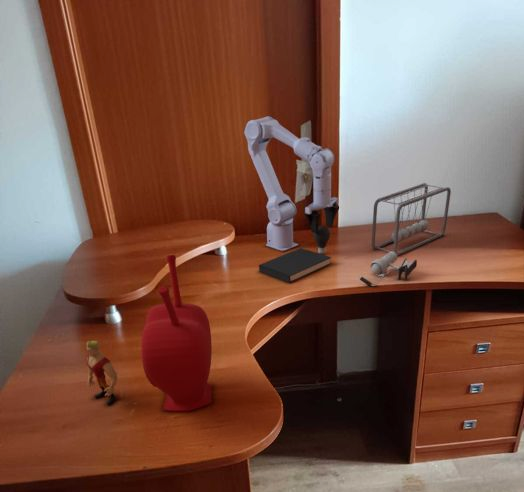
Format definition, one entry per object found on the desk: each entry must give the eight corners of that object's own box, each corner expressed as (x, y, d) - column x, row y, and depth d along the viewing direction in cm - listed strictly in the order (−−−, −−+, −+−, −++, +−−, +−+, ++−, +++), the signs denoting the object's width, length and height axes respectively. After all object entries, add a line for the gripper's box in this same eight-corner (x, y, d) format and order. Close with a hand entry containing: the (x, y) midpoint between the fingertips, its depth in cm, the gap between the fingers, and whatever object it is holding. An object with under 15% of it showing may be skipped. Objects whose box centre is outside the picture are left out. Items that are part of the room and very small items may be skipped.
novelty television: (163, 372, 120) (140, 252, 104) (217, 367, 120) (202, 247, 105) (153, 430, 102) (123, 295, 87) (217, 424, 103) (199, 289, 87)
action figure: (86, 395, 114) (69, 337, 106) (100, 387, 116) (84, 330, 108) (112, 410, 109) (97, 351, 101) (126, 402, 111) (111, 343, 103)
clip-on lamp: (383, 300, 152) (419, 270, 159) (383, 283, 147) (420, 253, 155) (352, 286, 159) (388, 258, 166) (352, 269, 154) (389, 241, 162)
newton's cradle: (421, 228, 195) (426, 181, 185) (445, 234, 188) (452, 186, 178) (370, 250, 179) (373, 199, 169) (394, 257, 172) (399, 205, 162)
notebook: (259, 272, 168) (258, 264, 167) (300, 254, 179) (300, 247, 178) (289, 283, 159) (289, 275, 158) (331, 264, 170) (331, 257, 169)
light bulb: (331, 252, 179) (332, 224, 174) (326, 257, 175) (327, 229, 170) (316, 250, 182) (316, 223, 176) (311, 256, 177) (311, 228, 172)
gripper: (316, 196, 160) (316, 237, 167) (345, 186, 168) (344, 226, 175) (300, 192, 165) (301, 233, 172) (329, 183, 173) (329, 222, 180)
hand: (322, 229), depth 174 cm, fingers open, 7 cm apart
